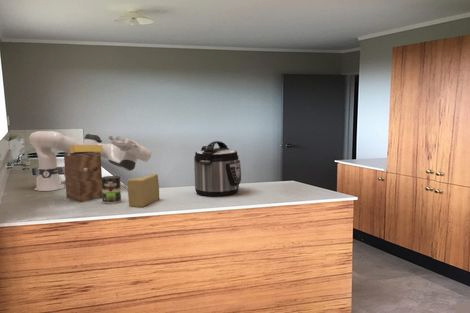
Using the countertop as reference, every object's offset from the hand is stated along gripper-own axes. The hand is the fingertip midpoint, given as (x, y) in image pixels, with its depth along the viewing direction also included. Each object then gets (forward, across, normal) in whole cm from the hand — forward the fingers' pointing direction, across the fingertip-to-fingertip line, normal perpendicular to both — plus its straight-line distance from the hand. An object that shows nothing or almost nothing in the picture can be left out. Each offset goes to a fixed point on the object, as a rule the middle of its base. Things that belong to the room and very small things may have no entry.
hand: (113, 137), depth 276 cm
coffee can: (-3, -26, -39) cm, 47 cm away
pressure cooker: (-52, -54, -10) cm, 75 cm away
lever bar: (+12, -2, -16) cm, 20 cm away
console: (+2, -4, -41) cm, 42 cm away
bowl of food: (-20, +60, -29) cm, 70 cm away
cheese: (-13, -44, -33) cm, 57 cm away
